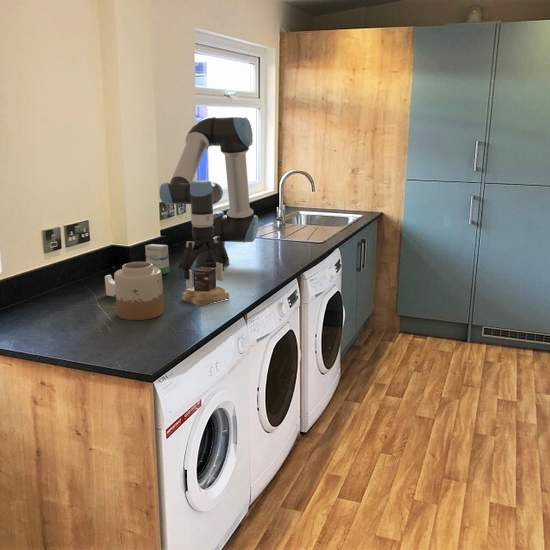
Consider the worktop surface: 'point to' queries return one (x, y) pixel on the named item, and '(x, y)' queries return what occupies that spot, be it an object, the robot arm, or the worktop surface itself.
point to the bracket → (110, 286)
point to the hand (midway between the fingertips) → (205, 284)
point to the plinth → (206, 300)
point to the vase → (139, 291)
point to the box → (204, 278)
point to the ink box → (158, 256)
